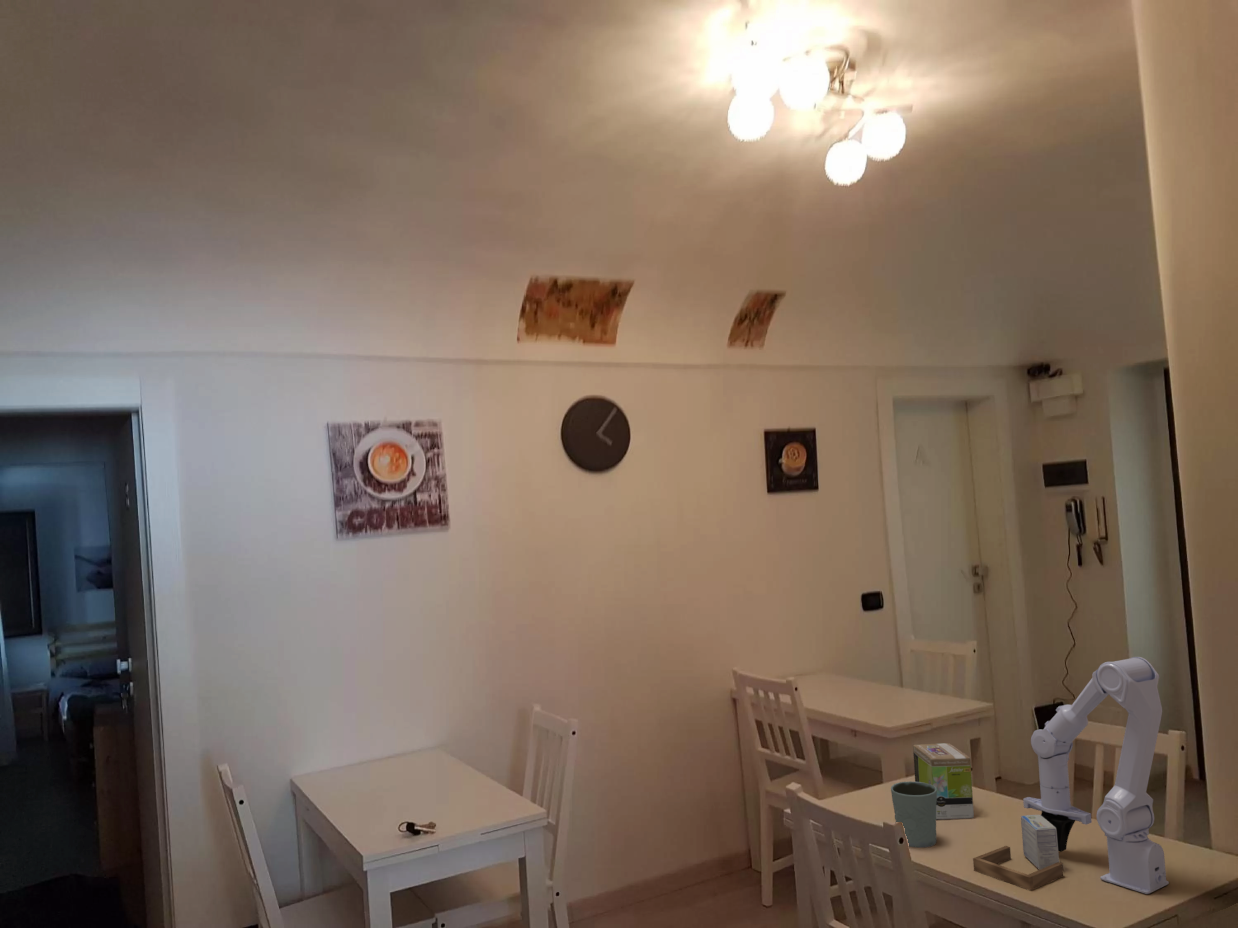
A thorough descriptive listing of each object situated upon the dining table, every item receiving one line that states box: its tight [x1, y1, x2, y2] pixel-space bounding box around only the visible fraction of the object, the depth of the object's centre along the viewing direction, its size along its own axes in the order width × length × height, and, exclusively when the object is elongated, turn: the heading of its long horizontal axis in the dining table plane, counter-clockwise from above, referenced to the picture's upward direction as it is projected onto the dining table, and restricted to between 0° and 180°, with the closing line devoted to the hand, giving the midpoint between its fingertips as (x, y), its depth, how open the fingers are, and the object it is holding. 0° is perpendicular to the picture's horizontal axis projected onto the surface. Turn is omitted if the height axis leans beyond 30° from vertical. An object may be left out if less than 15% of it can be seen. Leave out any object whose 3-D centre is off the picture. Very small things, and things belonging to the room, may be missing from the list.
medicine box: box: [1020, 814, 1060, 870], centre depth 194 cm, size 8×4×9 cm, turn 178°
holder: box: [972, 845, 1064, 891], centre depth 190 cm, size 13×11×2 cm
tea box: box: [912, 742, 975, 820], centre depth 231 cm, size 15×10×15 cm, turn 179°
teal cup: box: [890, 781, 937, 849], centre depth 211 cm, size 10×10×12 cm
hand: (1059, 849), depth 198 cm, fingers closed
